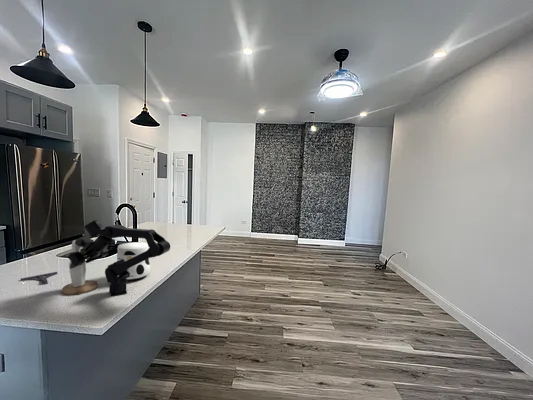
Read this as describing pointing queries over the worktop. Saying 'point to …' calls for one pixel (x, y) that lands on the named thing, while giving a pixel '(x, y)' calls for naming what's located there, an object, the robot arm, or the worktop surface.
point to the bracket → (40, 277)
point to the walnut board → (80, 288)
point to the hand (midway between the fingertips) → (78, 265)
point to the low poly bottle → (77, 270)
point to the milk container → (131, 251)
